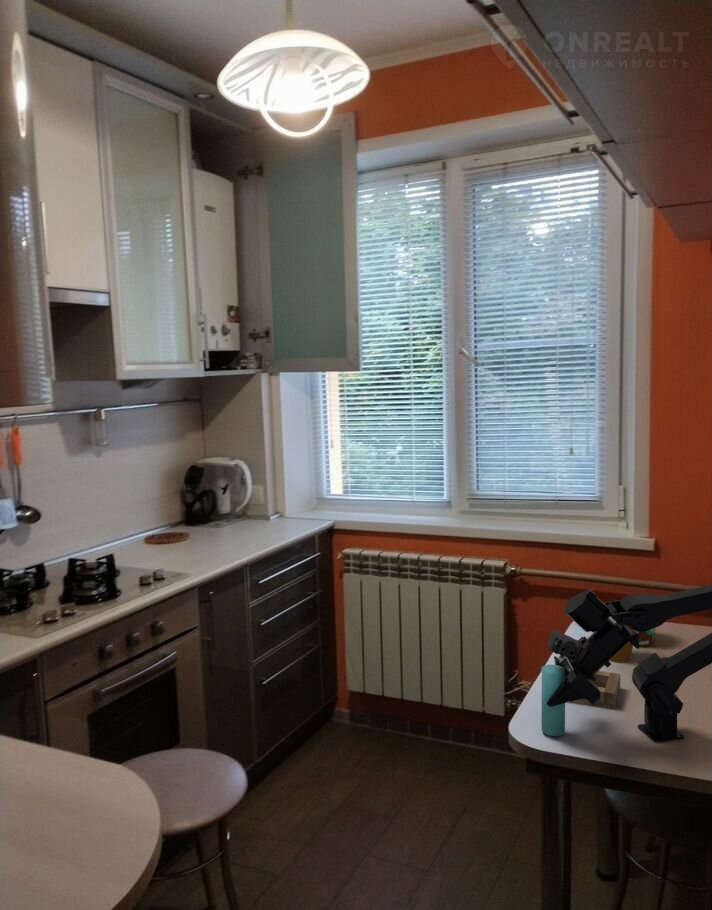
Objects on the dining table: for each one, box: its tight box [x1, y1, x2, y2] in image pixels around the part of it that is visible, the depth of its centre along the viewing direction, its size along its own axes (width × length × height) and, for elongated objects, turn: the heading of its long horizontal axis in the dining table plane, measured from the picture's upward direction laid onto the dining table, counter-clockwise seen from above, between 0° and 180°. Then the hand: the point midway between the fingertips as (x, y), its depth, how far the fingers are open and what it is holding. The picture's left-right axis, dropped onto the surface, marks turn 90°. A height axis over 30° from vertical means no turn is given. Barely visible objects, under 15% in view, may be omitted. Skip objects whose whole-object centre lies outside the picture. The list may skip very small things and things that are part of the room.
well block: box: [569, 670, 621, 710], centre depth 165 cm, size 11×11×4 cm
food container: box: [637, 627, 657, 648], centre depth 195 cm, size 12×6×10 cm, turn 168°
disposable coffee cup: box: [609, 617, 635, 663], centre depth 184 cm, size 10×10×12 cm
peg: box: [541, 664, 566, 737], centre depth 148 cm, size 5×5×13 cm
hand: (545, 699), depth 148 cm, fingers closed on peg, 5 cm apart
